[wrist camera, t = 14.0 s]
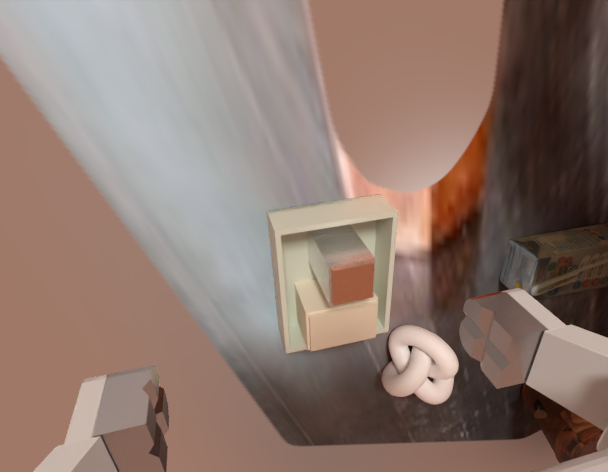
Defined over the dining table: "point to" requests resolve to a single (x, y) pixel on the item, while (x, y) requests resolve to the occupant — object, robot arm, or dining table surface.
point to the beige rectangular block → (332, 318)
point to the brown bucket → (562, 426)
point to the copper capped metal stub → (341, 264)
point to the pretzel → (419, 365)
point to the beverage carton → (558, 262)
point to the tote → (294, 253)
